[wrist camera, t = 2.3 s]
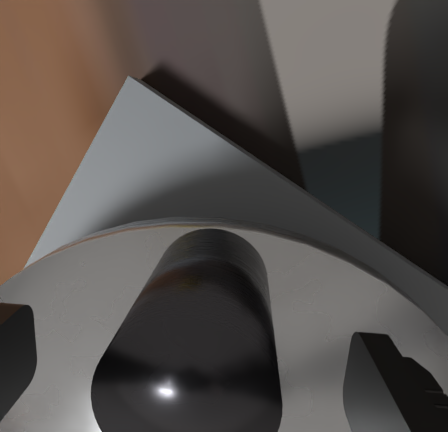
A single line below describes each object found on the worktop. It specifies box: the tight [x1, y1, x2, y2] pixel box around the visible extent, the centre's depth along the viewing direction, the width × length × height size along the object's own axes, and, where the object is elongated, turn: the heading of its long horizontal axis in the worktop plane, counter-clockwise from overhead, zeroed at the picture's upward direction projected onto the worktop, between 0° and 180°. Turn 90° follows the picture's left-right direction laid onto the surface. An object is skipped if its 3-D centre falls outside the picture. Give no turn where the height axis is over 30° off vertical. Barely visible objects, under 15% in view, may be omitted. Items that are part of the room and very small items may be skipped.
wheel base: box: [24, 76, 448, 336], centre depth 21 cm, size 26×26×6 cm
